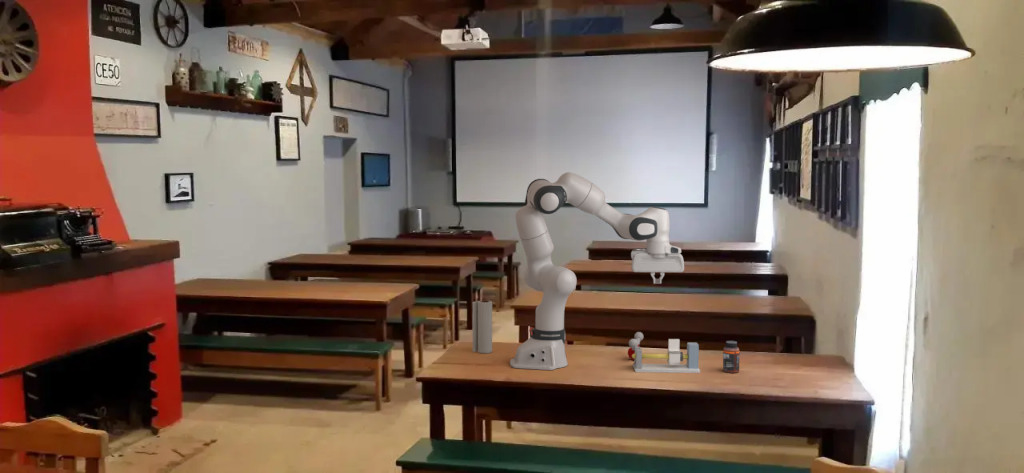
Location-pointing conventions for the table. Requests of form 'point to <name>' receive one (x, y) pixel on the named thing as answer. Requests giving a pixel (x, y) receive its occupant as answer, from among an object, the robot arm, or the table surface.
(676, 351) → the marker sleeve
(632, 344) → the molecular model
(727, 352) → the supplement bottle
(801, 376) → the table surface
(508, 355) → the table surface
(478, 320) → the grey grooved column
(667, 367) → the cord rig
